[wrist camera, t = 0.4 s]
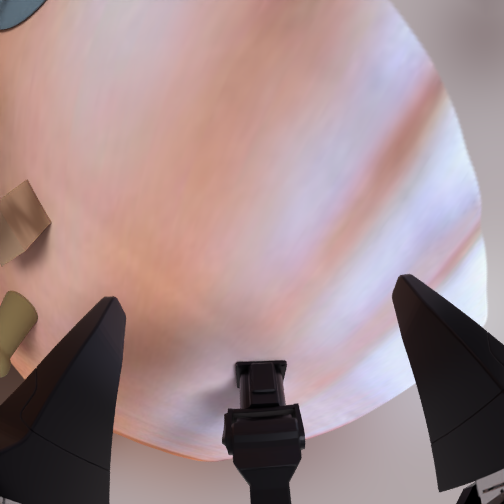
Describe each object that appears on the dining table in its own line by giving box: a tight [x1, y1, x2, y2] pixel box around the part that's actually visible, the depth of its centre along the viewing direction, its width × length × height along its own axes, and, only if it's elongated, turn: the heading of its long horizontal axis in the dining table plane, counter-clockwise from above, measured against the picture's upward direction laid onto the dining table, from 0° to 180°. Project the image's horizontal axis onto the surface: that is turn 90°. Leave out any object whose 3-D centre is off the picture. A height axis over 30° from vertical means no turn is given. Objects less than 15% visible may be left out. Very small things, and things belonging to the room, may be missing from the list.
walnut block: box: [0, 179, 51, 266], centre depth 19 cm, size 5×5×5 cm
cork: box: [0, 291, 38, 377], centre depth 24 cm, size 6×6×11 cm
